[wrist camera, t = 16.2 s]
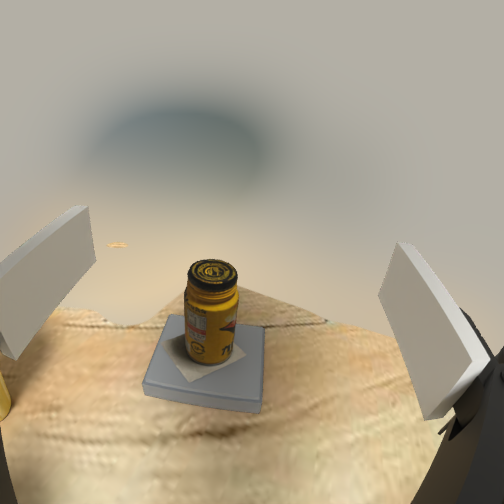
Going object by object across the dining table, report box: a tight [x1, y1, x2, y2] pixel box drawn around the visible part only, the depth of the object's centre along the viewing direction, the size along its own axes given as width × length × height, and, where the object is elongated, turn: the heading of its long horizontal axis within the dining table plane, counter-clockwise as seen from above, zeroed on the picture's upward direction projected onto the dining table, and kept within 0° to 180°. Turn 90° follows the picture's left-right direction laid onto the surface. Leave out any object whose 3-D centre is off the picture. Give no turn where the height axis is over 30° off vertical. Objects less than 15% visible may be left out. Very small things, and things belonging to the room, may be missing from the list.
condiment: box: [160, 259, 247, 383], centre depth 34 cm, size 7×8×12 cm
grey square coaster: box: [142, 314, 265, 414], centre depth 37 cm, size 14×13×3 cm
